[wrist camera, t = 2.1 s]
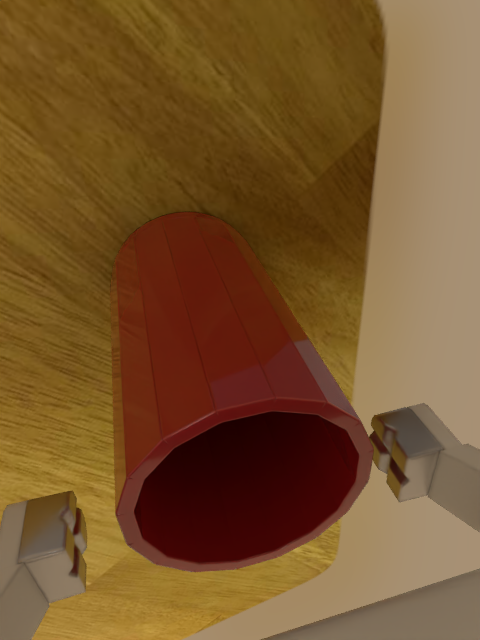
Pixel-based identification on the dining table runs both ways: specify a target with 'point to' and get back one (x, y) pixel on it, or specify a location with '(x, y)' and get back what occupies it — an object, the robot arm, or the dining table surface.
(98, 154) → the dining table surface
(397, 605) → the robot arm
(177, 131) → the dining table surface
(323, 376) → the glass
